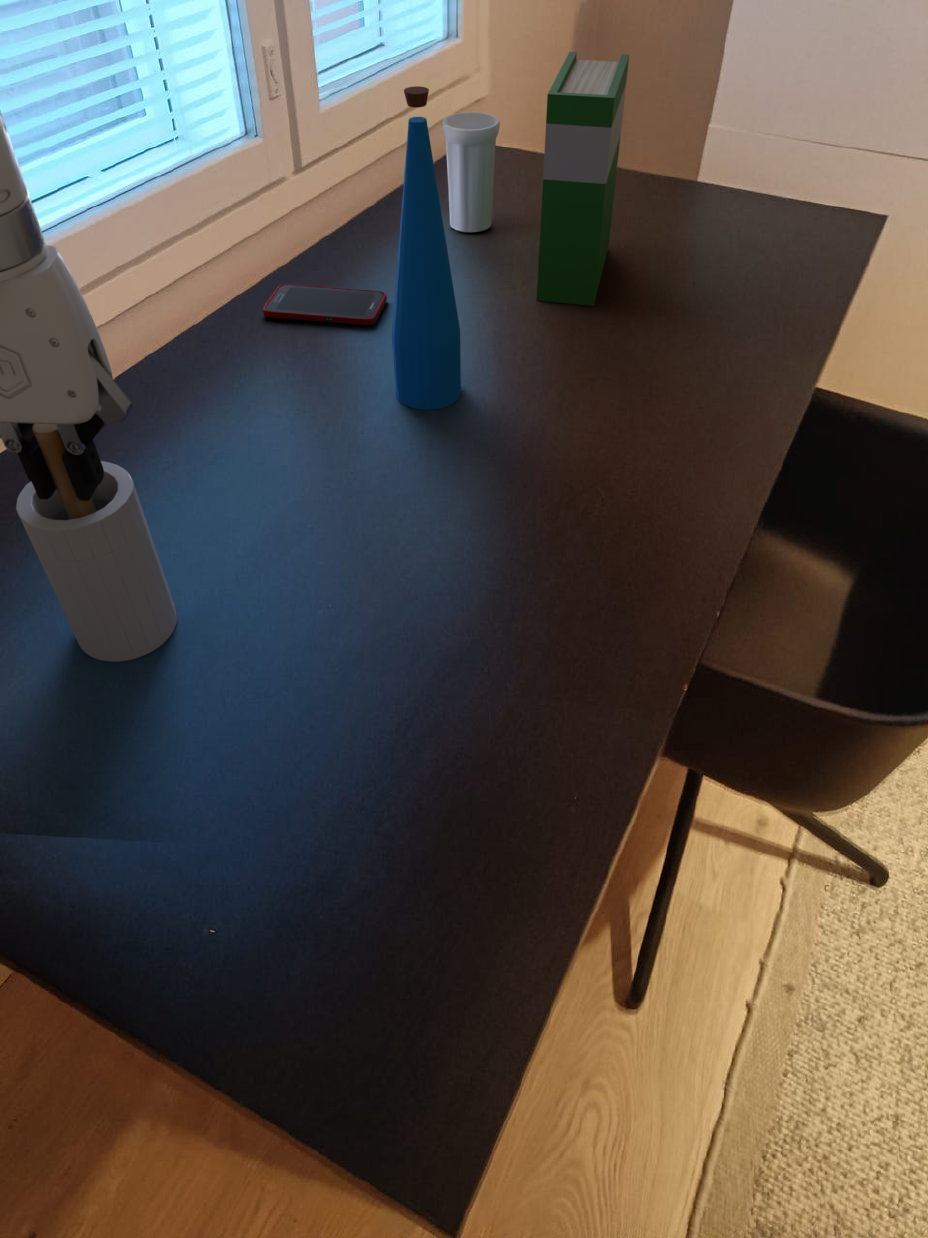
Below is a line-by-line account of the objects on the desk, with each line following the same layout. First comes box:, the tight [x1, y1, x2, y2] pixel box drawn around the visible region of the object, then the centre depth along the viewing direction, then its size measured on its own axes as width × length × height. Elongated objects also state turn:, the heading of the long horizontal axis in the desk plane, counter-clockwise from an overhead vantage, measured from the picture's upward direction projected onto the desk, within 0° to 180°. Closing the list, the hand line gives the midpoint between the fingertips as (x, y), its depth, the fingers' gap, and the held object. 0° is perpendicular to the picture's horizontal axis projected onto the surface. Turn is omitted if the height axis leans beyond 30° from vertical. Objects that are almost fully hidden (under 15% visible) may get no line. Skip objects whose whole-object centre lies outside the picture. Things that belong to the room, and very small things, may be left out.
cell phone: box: [262, 283, 388, 326], centre depth 115 cm, size 8×15×1 cm, turn 80°
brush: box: [32, 424, 96, 520], centre depth 67 cm, size 4×4×16 cm
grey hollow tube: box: [15, 460, 178, 663], centre depth 71 cm, size 8×8×14 cm
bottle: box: [391, 85, 462, 411], centre depth 90 cm, size 7×7×30 cm
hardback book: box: [536, 51, 630, 307], centre depth 113 cm, size 18×7×24 cm, turn 167°
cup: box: [440, 111, 501, 233], centre depth 128 cm, size 8×8×14 cm
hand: (71, 486), depth 65 cm, fingers closed
